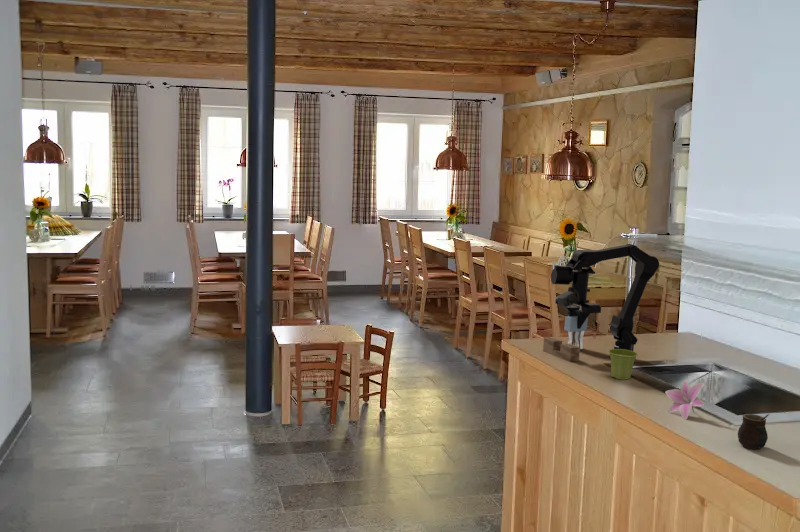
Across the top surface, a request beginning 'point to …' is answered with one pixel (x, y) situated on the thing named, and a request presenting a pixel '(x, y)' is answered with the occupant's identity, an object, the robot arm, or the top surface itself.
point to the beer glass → (576, 338)
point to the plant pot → (622, 363)
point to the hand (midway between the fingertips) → (575, 327)
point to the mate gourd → (753, 431)
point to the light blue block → (574, 324)
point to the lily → (685, 398)
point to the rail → (561, 349)
